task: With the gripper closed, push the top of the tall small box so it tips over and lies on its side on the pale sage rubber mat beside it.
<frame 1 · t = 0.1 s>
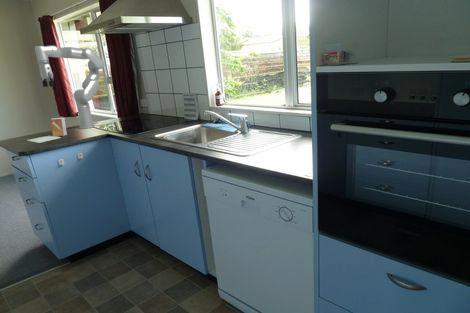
hand: (48, 86, 257), 37 cm above the worktop, tool pointing down, fingers open, 9 cm apart
small box: (60, 135, 256), on the worktop, touching mat
mat: (43, 139, 247), on the worktop
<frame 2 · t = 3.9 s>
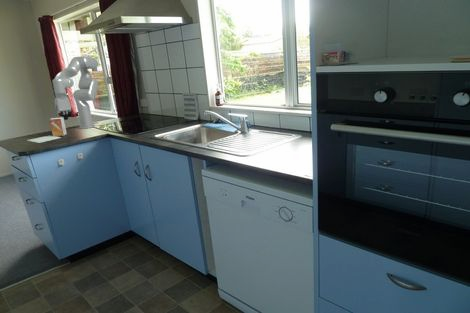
hand: (66, 119, 258), 11 cm above the worktop, tool pointing down, fingers closed
small box: (60, 135, 256), on the worktop, touching gripper, mat
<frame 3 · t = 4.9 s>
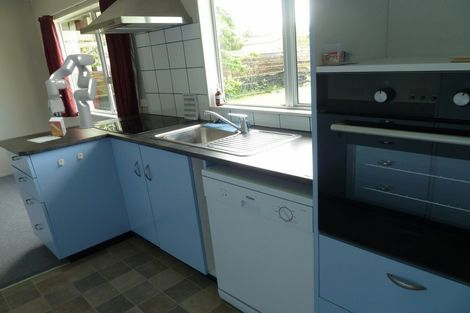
hand: (59, 121, 254), 11 cm above the worktop, tool pointing down, fingers closed
small box: (59, 134, 255), point 1 cm above the worktop, touching gripper, mat
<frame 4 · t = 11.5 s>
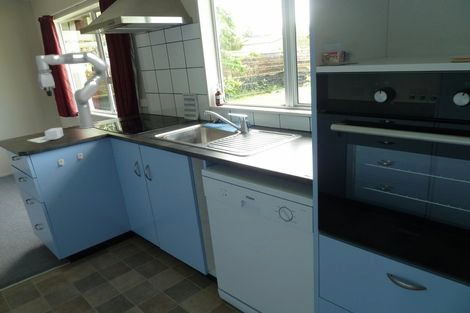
hand: (49, 96, 264), 29 cm above the worktop, tool pointing down, fingers closed
small box: (57, 132, 252), point 4 cm above the worktop, touching mat
at the end: small box tilted 89°; small box touching mat; small box inside the target area (7.1 cm from its centre), point 3.7 cm above the worktop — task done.
